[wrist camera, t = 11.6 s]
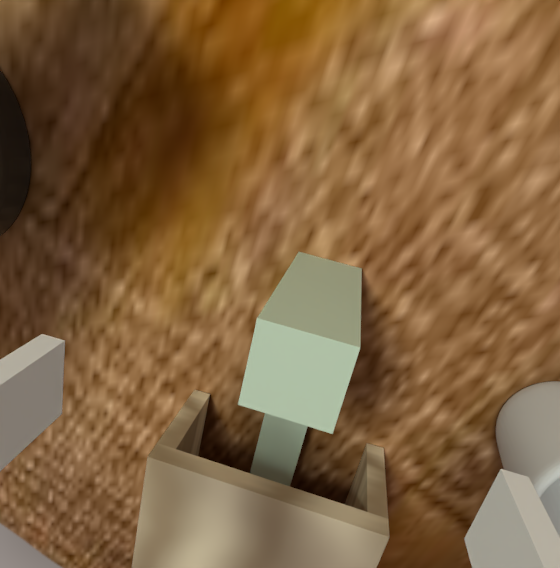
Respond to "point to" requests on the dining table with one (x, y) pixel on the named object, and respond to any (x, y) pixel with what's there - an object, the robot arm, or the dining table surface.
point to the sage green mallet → (302, 359)
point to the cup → (534, 441)
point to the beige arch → (251, 511)
